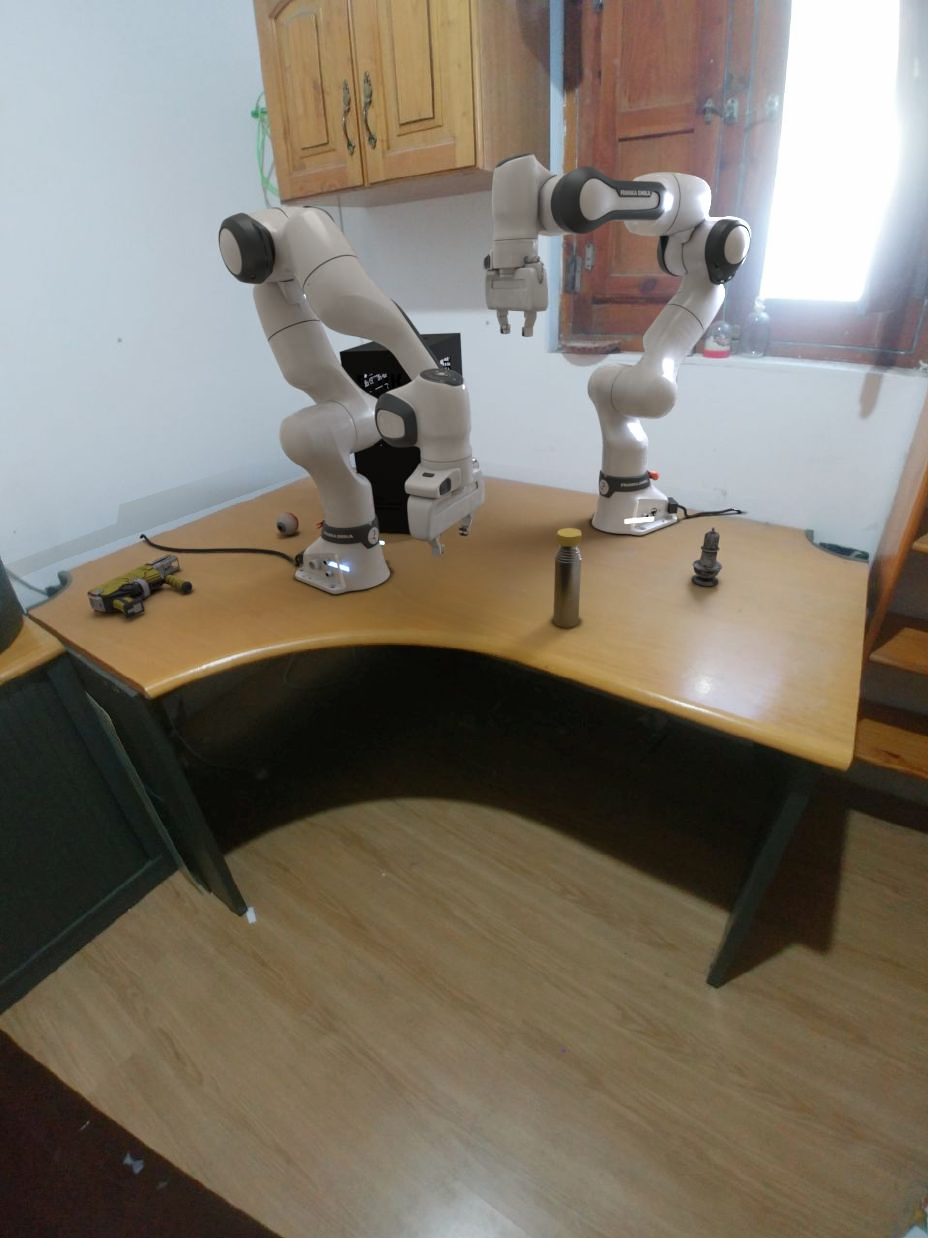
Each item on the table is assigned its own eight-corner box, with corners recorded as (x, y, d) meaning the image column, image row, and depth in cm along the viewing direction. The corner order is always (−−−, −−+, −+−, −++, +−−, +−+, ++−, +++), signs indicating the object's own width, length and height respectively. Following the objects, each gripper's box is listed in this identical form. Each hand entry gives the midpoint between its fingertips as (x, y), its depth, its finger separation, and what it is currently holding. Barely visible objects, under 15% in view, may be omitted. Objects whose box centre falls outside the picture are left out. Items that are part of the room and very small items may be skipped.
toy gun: (216, 562, 143) (165, 551, 147) (137, 606, 123) (80, 592, 127) (219, 580, 145) (169, 569, 149) (142, 626, 125) (86, 611, 129)
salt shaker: (721, 586, 126) (731, 533, 120) (692, 585, 127) (700, 532, 121) (717, 574, 131) (726, 522, 125) (688, 573, 132) (696, 521, 126)
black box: (436, 534, 159) (422, 349, 137) (364, 531, 164) (339, 351, 141) (468, 489, 191) (460, 332, 168) (407, 487, 195) (391, 335, 173)
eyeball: (273, 537, 164) (268, 516, 161) (287, 528, 169) (282, 508, 166) (291, 539, 161) (286, 518, 158) (305, 530, 166) (301, 510, 163)
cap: (560, 536, 112) (560, 526, 111) (583, 538, 110) (584, 529, 109) (553, 545, 108) (554, 535, 107) (577, 547, 107) (578, 538, 106)
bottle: (557, 613, 120) (559, 528, 111) (581, 617, 118) (585, 531, 109) (550, 625, 116) (552, 537, 107) (574, 629, 115) (579, 540, 106)
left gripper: (462, 452, 113) (466, 521, 120) (398, 487, 98) (406, 563, 105) (492, 456, 110) (494, 526, 117) (430, 492, 95) (436, 570, 102)
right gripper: (557, 254, 111) (556, 336, 118) (505, 258, 127) (506, 331, 134) (528, 255, 109) (527, 339, 116) (478, 260, 125) (481, 333, 132)
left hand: (452, 544), depth 111 cm, fingers open, 8 cm apart
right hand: (516, 335), depth 125 cm, fingers open, 8 cm apart
